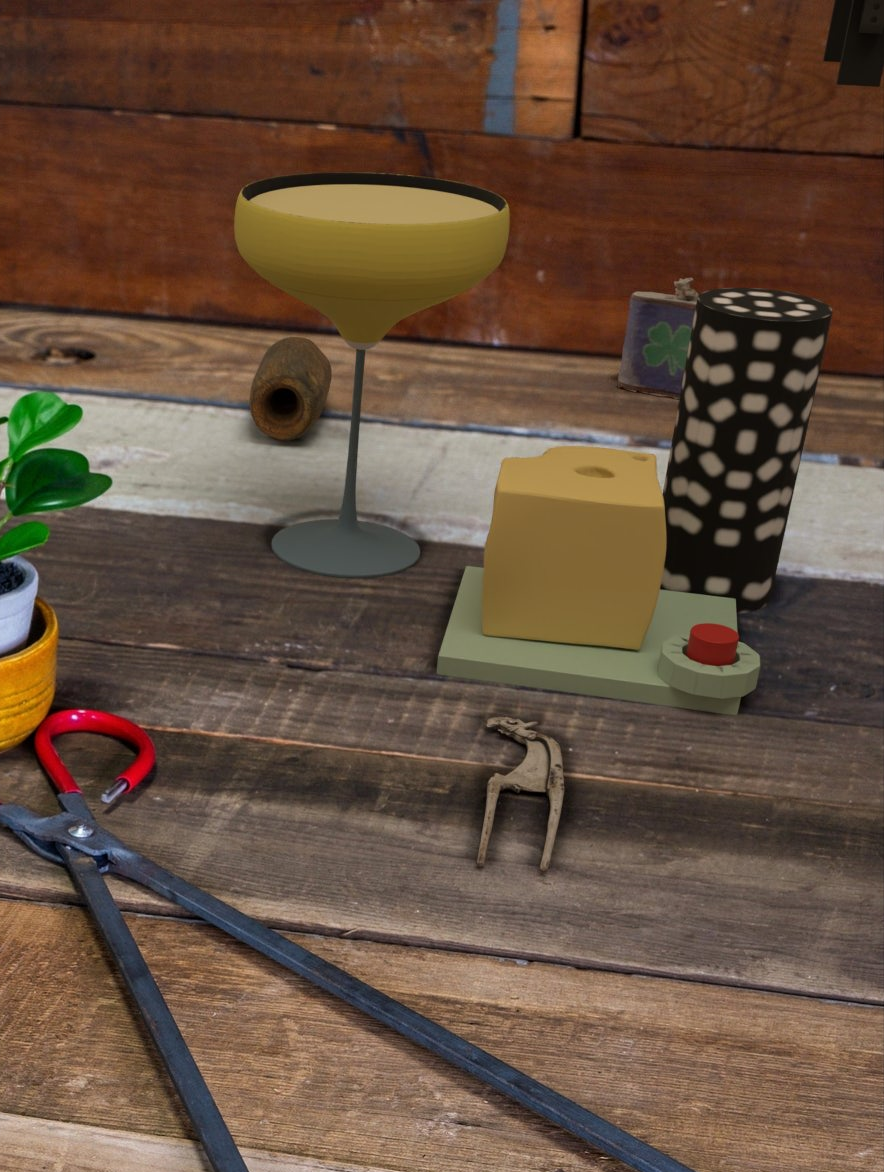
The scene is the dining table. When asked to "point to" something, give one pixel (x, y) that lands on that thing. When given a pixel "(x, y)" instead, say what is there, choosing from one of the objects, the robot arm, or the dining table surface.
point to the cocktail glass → (365, 301)
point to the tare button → (712, 644)
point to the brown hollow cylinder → (290, 388)
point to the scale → (605, 656)
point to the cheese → (575, 548)
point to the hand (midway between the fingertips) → (849, 73)
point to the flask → (658, 340)
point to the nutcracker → (527, 780)
